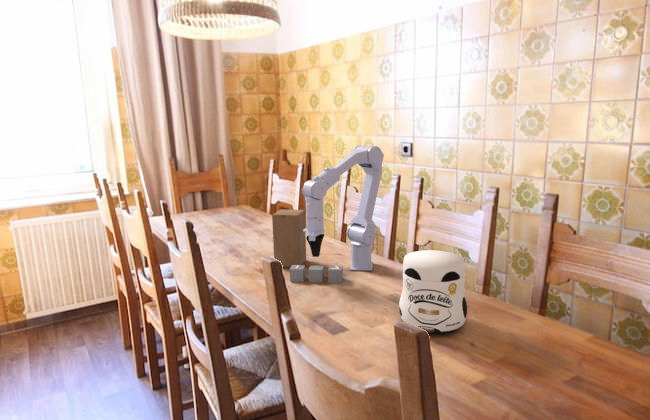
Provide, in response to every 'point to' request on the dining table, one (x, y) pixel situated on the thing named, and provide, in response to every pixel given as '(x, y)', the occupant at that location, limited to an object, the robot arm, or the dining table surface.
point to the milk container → (433, 291)
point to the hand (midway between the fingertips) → (316, 256)
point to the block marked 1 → (297, 273)
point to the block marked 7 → (335, 274)
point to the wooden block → (289, 237)
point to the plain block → (316, 273)
